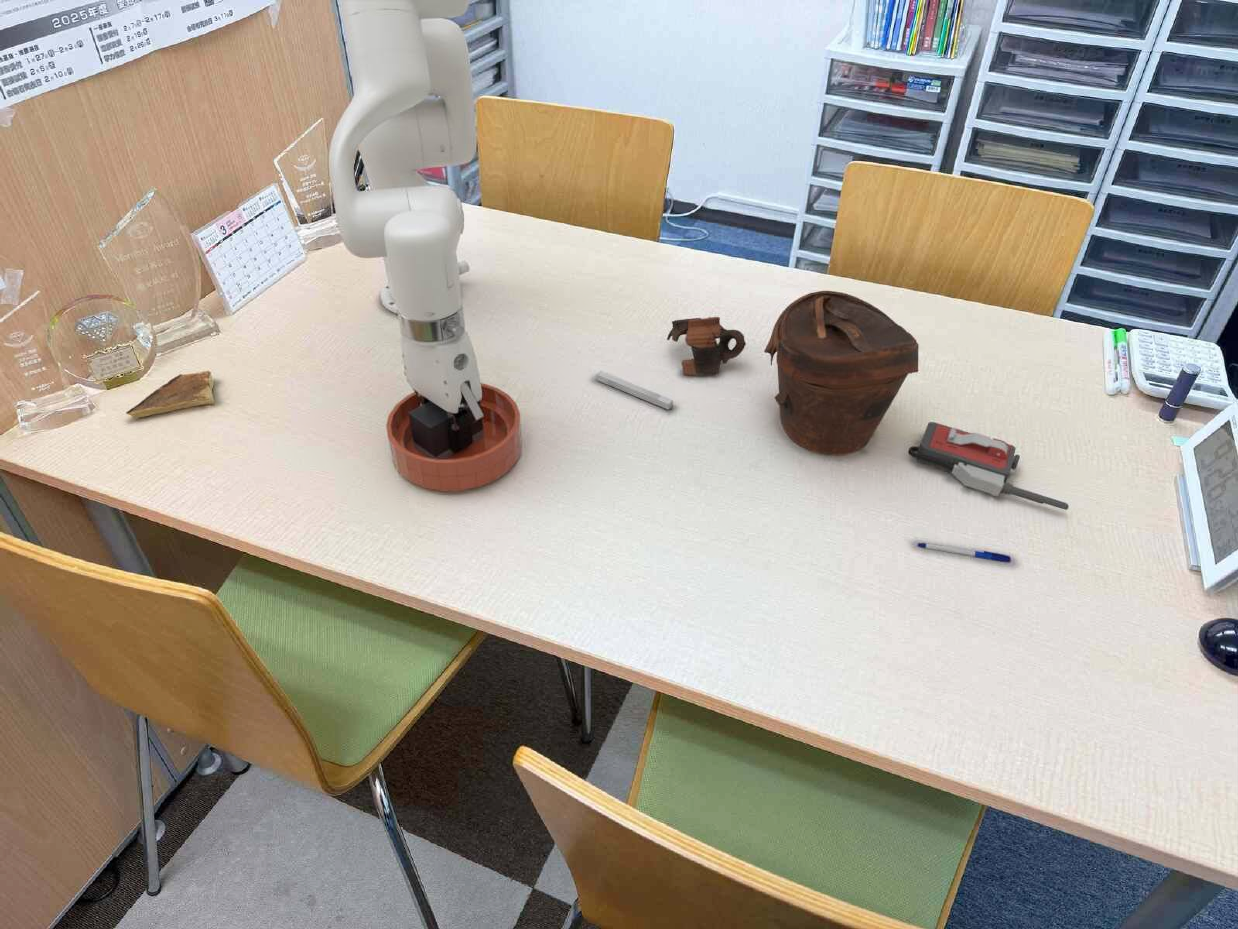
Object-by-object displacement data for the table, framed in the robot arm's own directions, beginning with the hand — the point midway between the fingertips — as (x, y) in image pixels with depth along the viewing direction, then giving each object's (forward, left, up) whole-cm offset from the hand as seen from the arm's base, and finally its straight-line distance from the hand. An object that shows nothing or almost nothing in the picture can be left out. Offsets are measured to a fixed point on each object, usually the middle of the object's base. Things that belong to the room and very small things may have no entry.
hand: (449, 437), depth 109 cm
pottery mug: (-40, +11, -2) cm, 42 cm away
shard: (+20, -34, -2) cm, 40 cm away
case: (-39, +33, -2) cm, 52 cm away
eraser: (0, 0, -1) cm, 1 cm away
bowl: (0, +1, -2) cm, 2 cm away
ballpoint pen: (-30, +59, -2) cm, 66 cm away
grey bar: (-26, +9, -2) cm, 28 cm away
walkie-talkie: (-45, +54, -2) cm, 71 cm away
